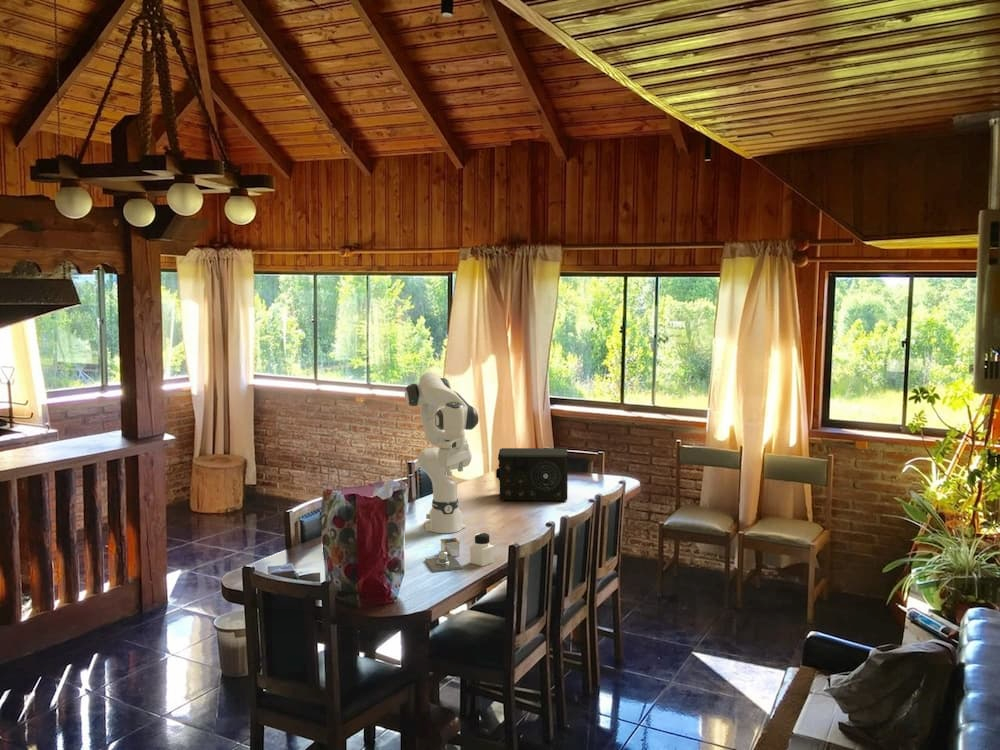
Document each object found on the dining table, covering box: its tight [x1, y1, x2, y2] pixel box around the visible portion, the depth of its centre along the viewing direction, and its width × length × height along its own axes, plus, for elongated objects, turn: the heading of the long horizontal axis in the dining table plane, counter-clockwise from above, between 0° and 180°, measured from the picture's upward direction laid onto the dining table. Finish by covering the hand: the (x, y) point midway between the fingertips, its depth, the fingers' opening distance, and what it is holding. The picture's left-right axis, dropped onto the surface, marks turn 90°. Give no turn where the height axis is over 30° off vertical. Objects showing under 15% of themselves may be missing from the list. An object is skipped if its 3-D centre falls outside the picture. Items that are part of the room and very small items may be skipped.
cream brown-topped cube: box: [440, 537, 461, 558], centre depth 367 cm, size 7×7×6 cm
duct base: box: [424, 550, 463, 573], centre depth 354 cm, size 14×12×5 cm
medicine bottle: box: [469, 532, 495, 567], centre depth 356 cm, size 7×7×12 cm
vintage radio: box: [495, 447, 569, 503], centre depth 457 cm, size 38×20×25 cm, turn 88°
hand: (454, 473), depth 367 cm, fingers open, 8 cm apart
